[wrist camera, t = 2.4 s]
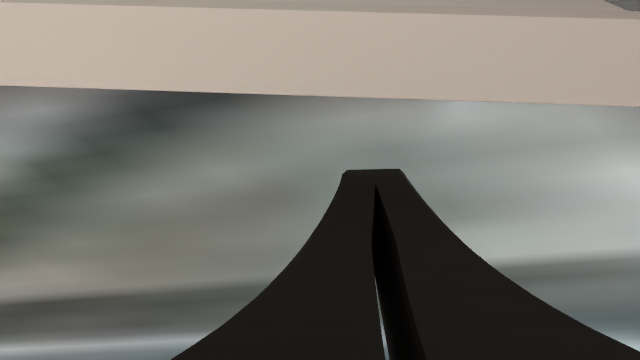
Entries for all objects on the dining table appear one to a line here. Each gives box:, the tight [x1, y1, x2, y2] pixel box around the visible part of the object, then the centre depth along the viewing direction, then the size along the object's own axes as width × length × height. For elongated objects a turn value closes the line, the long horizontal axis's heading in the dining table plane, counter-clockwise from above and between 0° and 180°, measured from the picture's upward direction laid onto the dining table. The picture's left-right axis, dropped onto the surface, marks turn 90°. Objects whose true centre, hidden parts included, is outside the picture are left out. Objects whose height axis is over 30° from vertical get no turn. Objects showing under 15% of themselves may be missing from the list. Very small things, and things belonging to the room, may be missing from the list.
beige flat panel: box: [0, 0, 640, 107], centre depth 10 cm, size 12×1×5 cm, turn 89°
